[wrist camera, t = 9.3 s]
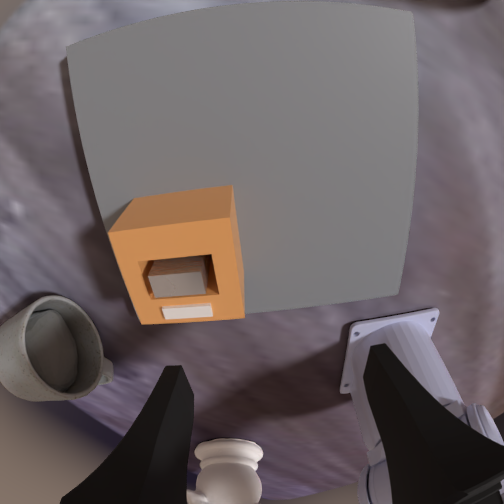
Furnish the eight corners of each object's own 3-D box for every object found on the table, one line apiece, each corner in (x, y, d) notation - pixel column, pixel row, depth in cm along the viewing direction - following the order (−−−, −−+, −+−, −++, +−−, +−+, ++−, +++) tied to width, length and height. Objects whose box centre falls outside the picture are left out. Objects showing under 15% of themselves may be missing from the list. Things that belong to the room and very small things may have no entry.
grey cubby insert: (213, 243, 18) (205, 293, 14) (172, 248, 18) (155, 297, 14) (209, 224, 17) (200, 271, 13) (167, 229, 17) (147, 276, 13)
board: (391, 284, 21) (397, 294, 20) (143, 309, 22) (139, 320, 21) (402, 14, 12) (412, 12, 11) (76, 47, 13) (65, 47, 12)
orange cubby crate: (232, 184, 16) (229, 219, 13) (243, 272, 19) (244, 320, 15) (133, 198, 16) (106, 234, 13) (156, 279, 19) (140, 327, 15)
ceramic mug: (8, 307, 22) (-30, 369, 15) (53, 273, 20) (5, 349, 14) (84, 379, 27) (64, 442, 20) (139, 361, 25) (122, 438, 19)
